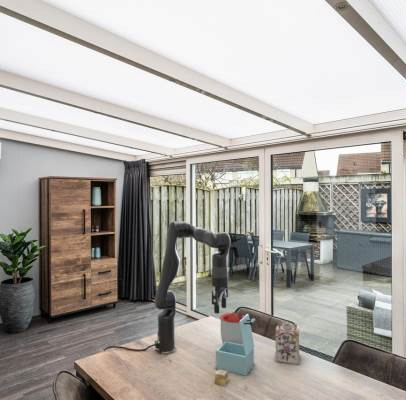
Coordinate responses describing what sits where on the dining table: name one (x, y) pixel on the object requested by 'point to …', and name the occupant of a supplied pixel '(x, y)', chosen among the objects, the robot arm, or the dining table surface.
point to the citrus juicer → (231, 328)
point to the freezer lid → (247, 333)
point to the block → (221, 377)
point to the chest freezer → (234, 358)
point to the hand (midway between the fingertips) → (220, 310)
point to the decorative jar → (287, 343)
